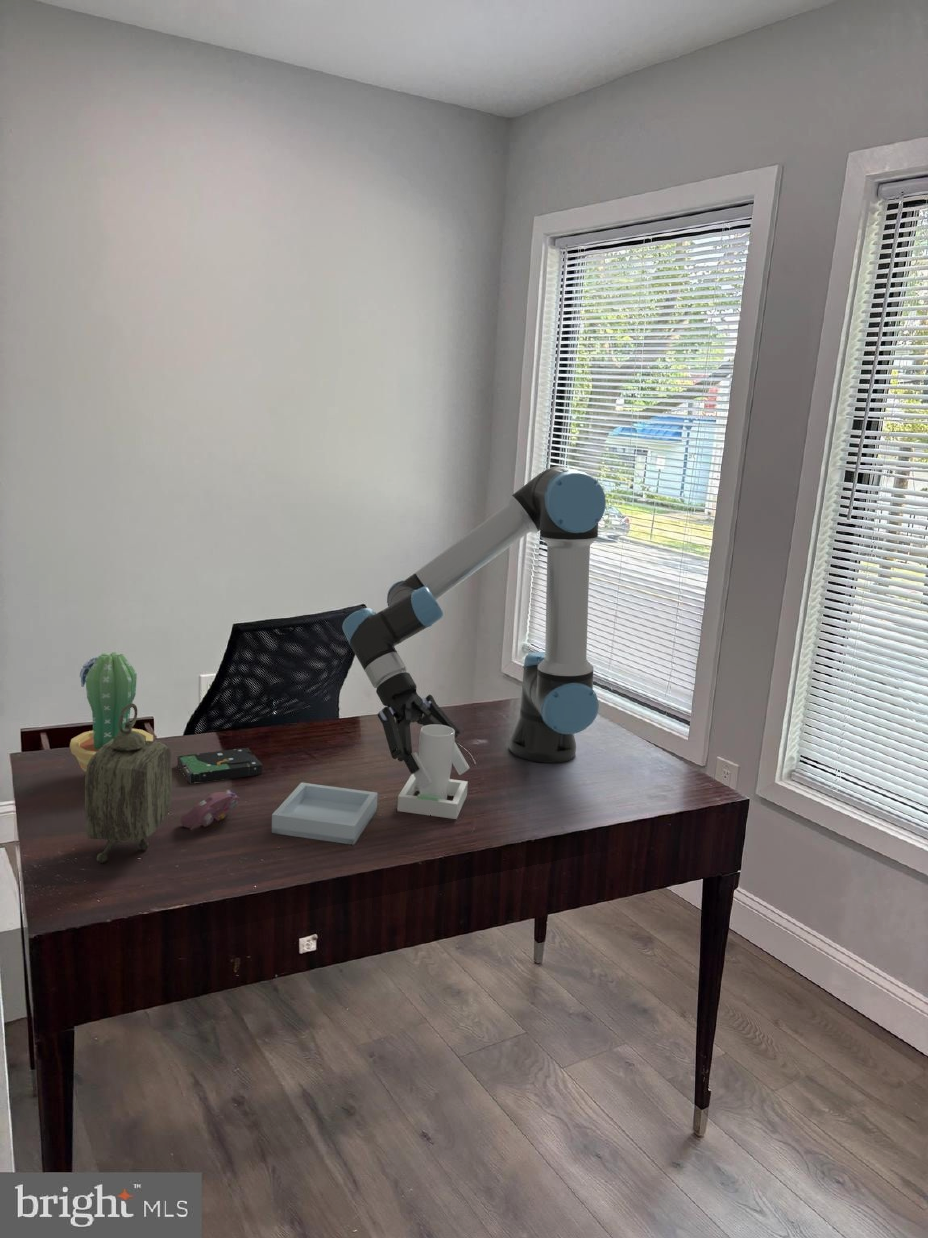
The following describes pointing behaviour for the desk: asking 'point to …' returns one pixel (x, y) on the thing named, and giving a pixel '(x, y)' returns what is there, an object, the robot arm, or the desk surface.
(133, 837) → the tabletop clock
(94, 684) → the potted cactus
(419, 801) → the frame
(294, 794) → the tray
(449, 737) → the drinking glass
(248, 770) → the disk drive
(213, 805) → the pink toy figurine
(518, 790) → the desk surface
